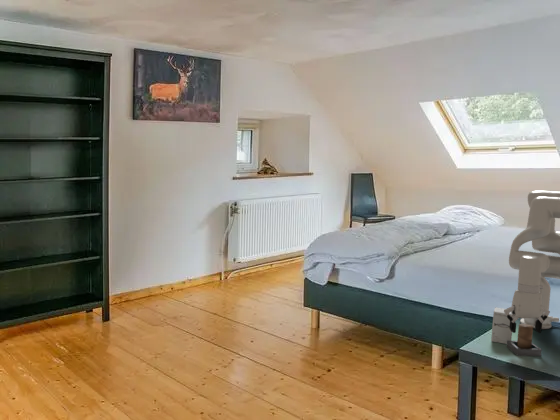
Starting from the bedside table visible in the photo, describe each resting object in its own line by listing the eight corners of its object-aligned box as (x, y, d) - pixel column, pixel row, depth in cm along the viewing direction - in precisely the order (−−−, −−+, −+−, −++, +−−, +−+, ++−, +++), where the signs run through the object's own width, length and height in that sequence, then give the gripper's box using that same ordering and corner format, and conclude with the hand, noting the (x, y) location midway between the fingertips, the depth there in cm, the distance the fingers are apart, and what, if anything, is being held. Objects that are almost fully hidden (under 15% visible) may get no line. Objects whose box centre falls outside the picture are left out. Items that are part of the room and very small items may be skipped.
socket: (529, 347, 209) (529, 340, 208) (541, 355, 200) (541, 349, 199) (506, 346, 208) (507, 340, 208) (517, 355, 200) (518, 349, 199)
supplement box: (490, 341, 214) (492, 311, 212) (492, 336, 220) (494, 306, 219) (510, 345, 210) (512, 314, 209) (512, 339, 217) (514, 309, 215)
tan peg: (526, 348, 207) (529, 324, 206) (533, 353, 202) (535, 328, 201) (514, 348, 207) (516, 323, 205) (520, 353, 202) (522, 328, 200)
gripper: (545, 285, 205) (542, 328, 208) (501, 285, 205) (498, 328, 207) (556, 291, 198) (552, 335, 200) (510, 290, 197) (507, 335, 200)
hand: (525, 331), depth 204 cm, fingers open, 9 cm apart
